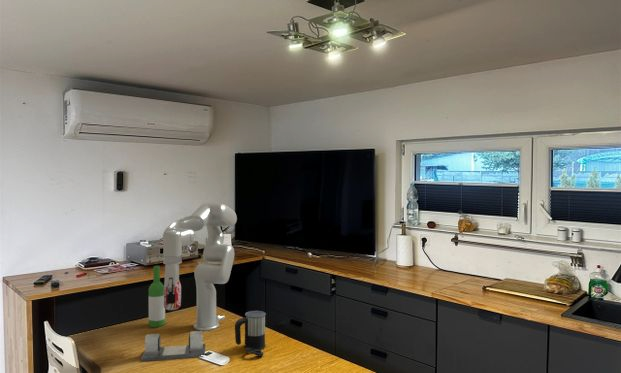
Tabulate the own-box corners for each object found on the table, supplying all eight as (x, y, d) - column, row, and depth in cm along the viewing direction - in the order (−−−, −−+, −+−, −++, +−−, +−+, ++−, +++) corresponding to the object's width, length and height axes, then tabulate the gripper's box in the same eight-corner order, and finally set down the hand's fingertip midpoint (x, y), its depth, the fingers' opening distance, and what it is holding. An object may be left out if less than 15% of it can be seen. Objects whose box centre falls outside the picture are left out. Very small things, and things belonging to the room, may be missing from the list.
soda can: (175, 311, 178) (175, 282, 178) (160, 310, 180) (160, 281, 180) (184, 306, 185) (184, 279, 185) (169, 305, 187) (169, 278, 186)
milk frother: (257, 340, 195) (257, 309, 195) (279, 351, 184) (279, 317, 183) (231, 349, 185) (231, 316, 185) (253, 361, 174) (252, 325, 173)
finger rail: (205, 347, 188) (205, 328, 188) (204, 356, 178) (204, 336, 178) (145, 351, 183) (145, 332, 182) (141, 361, 173) (141, 341, 173)
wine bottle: (154, 322, 219) (153, 264, 218) (168, 323, 218) (167, 264, 217) (145, 327, 212) (145, 267, 211) (159, 328, 210) (159, 268, 209)
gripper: (166, 256, 190) (166, 295, 190) (160, 263, 173) (159, 307, 173) (184, 255, 191) (183, 295, 191) (179, 263, 174) (179, 306, 174)
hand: (172, 300), depth 182 cm, fingers closed on soda can, 7 cm apart
